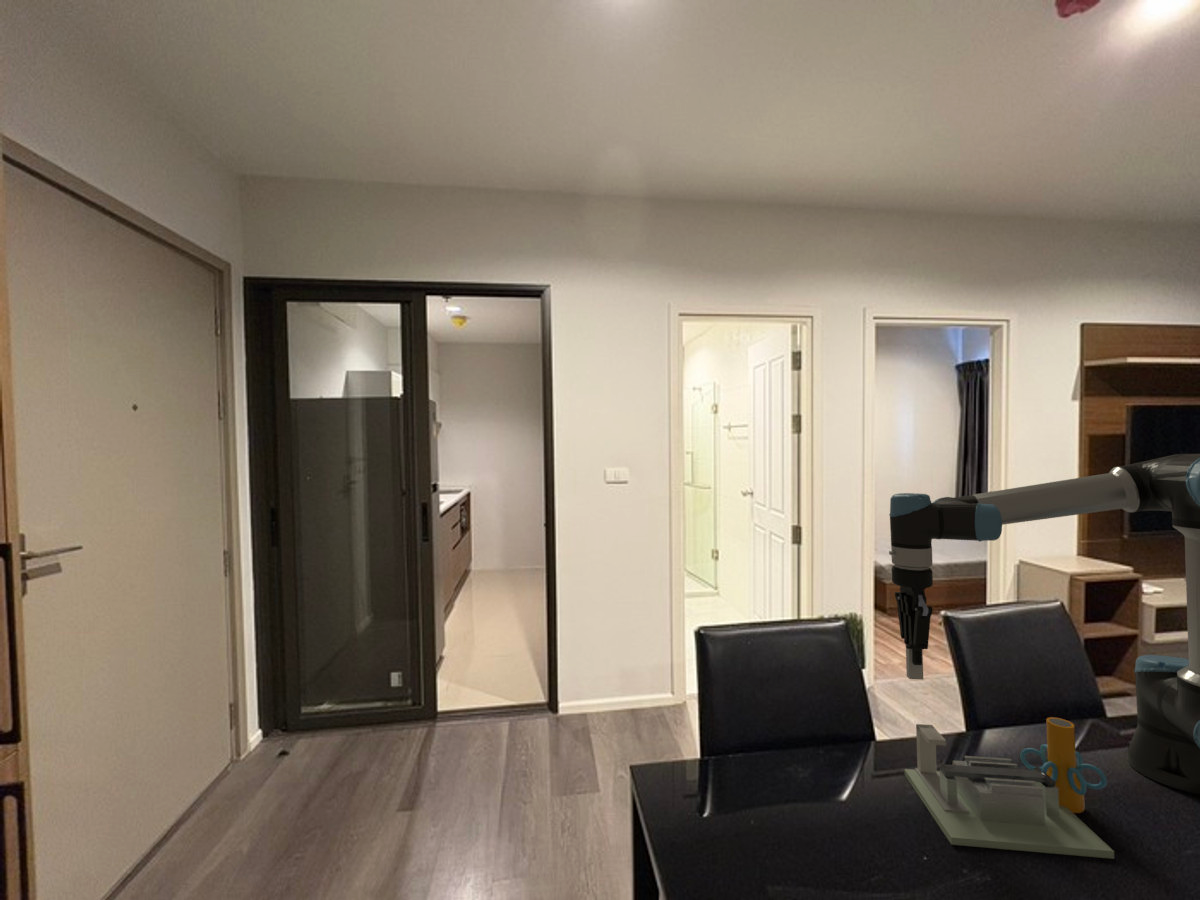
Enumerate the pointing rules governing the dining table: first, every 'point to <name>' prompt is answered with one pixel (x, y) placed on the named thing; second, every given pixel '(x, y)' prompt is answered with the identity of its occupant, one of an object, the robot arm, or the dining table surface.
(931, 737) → the latch
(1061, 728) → the orange tube with rings
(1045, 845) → the board
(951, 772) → the strap
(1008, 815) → the heatsink
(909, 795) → the dining table surface
